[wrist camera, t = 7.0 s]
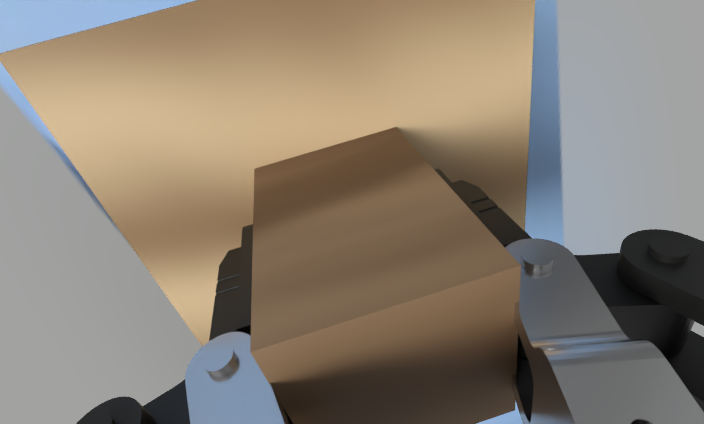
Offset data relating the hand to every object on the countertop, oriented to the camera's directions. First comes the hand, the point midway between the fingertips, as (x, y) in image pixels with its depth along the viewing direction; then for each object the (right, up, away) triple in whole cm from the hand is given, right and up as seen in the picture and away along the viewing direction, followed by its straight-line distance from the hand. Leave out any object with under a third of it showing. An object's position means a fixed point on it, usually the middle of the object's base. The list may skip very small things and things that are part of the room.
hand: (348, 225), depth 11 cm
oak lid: (0, +1, +2) cm, 2 cm away
